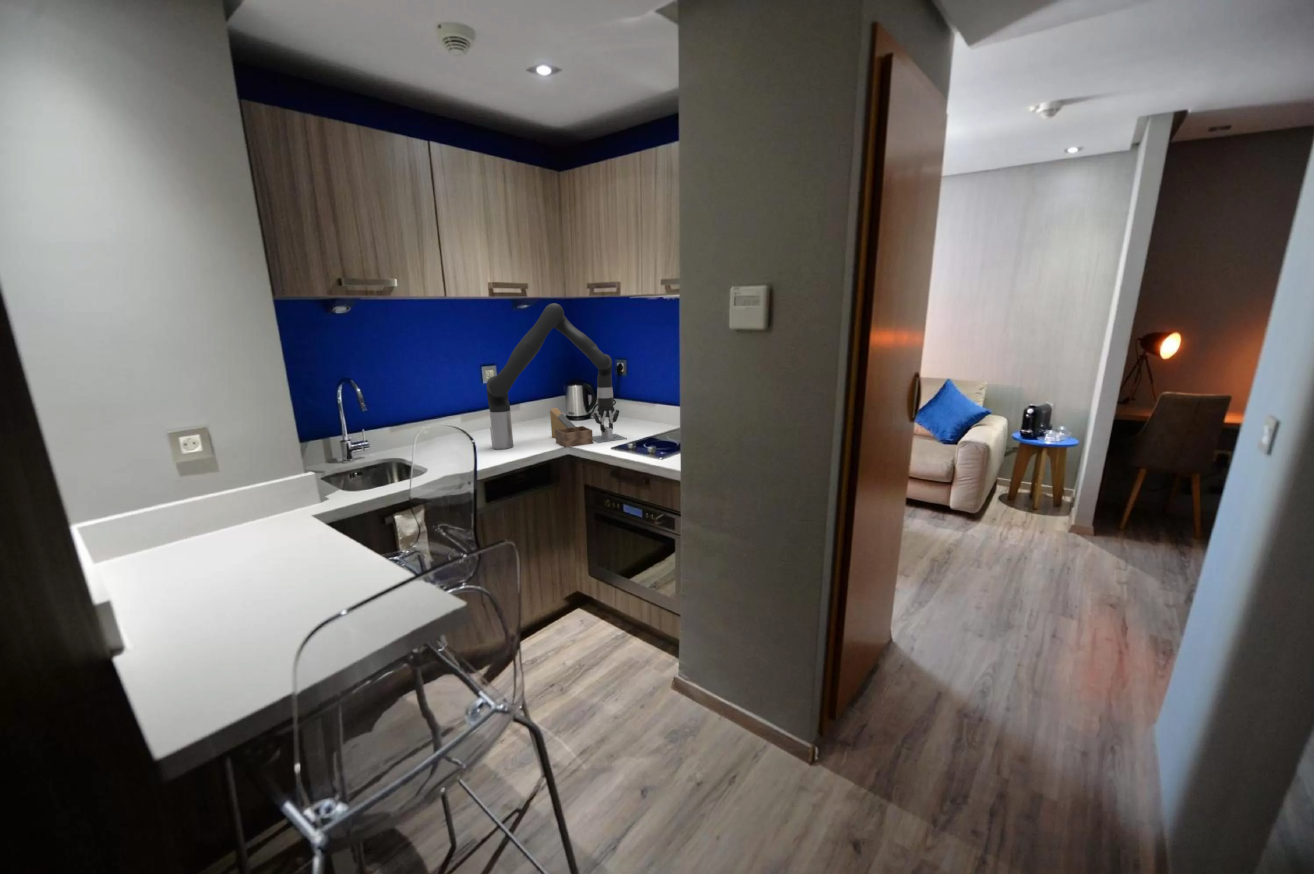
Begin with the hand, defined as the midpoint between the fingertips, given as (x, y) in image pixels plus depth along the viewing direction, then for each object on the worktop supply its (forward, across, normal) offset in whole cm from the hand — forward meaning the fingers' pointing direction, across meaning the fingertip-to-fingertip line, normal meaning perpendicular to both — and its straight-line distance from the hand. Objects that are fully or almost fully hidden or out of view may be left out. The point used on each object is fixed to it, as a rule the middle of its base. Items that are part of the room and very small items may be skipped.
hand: (606, 431), depth 256 cm
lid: (+5, 0, 0) cm, 5 cm away
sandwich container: (+5, -14, +16) cm, 22 cm away
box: (+4, -17, 0) cm, 18 cm away
